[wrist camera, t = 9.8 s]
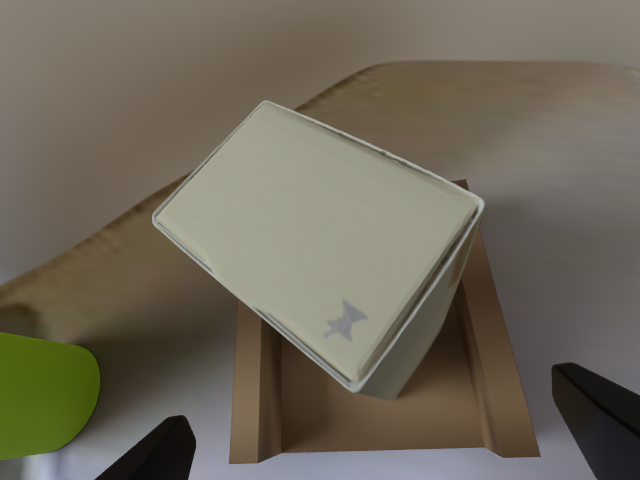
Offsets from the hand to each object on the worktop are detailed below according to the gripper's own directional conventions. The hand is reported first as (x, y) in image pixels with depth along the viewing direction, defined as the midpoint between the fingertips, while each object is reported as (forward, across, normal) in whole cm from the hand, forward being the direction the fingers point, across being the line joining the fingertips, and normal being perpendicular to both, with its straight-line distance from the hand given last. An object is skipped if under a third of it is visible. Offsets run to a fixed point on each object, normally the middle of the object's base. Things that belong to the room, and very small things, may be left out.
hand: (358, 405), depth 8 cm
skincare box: (+9, 0, +4) cm, 10 cm away
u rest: (+10, 0, +4) cm, 10 cm away
